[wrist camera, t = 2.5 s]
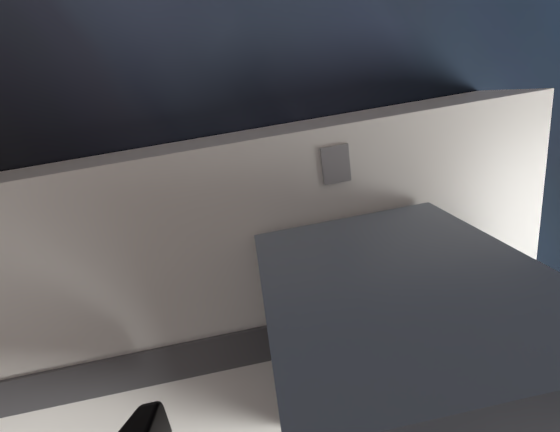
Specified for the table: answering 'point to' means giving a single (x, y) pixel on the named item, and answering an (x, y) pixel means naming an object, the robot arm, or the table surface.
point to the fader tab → (409, 326)
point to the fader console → (224, 250)
